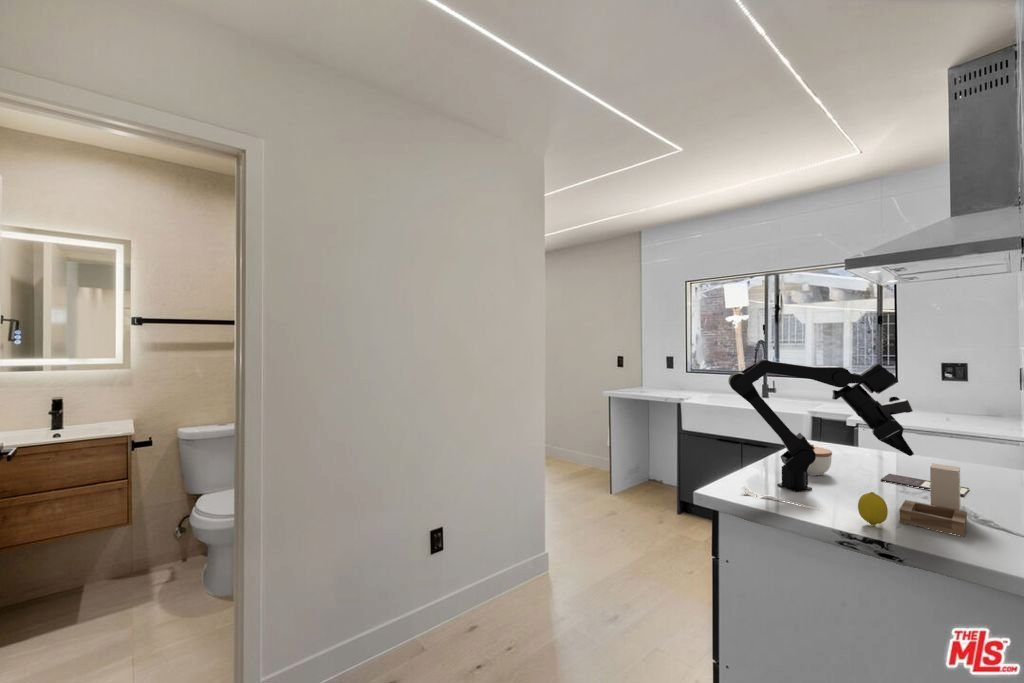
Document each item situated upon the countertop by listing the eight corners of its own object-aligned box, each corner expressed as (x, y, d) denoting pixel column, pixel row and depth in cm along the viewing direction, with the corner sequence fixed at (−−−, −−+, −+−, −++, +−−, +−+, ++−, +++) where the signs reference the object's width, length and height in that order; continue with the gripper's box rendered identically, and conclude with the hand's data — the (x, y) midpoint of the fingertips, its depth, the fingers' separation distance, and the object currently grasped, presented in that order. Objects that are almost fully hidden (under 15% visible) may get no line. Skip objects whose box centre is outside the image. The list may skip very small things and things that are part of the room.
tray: (964, 537, 100) (964, 522, 100) (899, 522, 108) (899, 509, 108) (967, 525, 106) (966, 511, 106) (905, 512, 114) (905, 499, 114)
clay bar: (959, 520, 108) (958, 471, 108) (930, 515, 112) (930, 467, 112) (960, 515, 112) (960, 467, 111) (933, 509, 115) (932, 463, 115)
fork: (822, 515, 115) (822, 508, 115) (740, 495, 129) (740, 488, 129) (825, 511, 117) (825, 504, 117) (744, 492, 131) (744, 485, 131)
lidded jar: (785, 471, 150) (785, 443, 149) (805, 466, 154) (805, 439, 154) (819, 480, 140) (818, 450, 140) (839, 475, 144) (839, 446, 144)
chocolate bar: (889, 473, 143) (968, 488, 129) (889, 476, 143) (968, 491, 129) (880, 479, 138) (962, 495, 123) (880, 482, 138) (962, 498, 123)
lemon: (879, 532, 103) (879, 497, 103) (852, 523, 108) (852, 490, 108) (893, 527, 105) (892, 493, 105) (866, 519, 110) (866, 486, 110)
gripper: (896, 389, 115) (949, 441, 109) (887, 384, 130) (933, 429, 124) (854, 414, 120) (902, 465, 114) (850, 406, 135) (893, 450, 129)
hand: (909, 451), depth 120 cm, fingers open, 9 cm apart
